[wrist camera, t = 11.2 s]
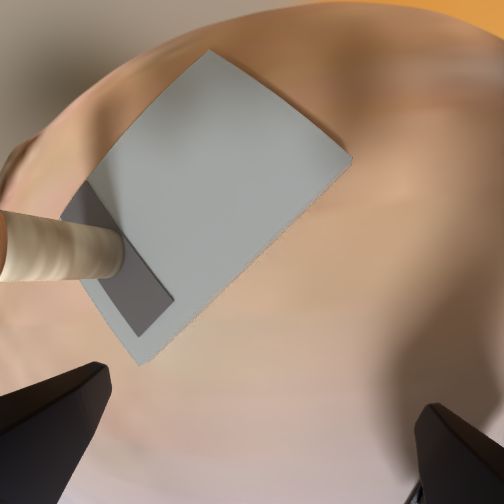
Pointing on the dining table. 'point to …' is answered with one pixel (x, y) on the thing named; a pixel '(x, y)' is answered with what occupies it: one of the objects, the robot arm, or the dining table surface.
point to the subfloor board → (207, 189)
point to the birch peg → (56, 249)
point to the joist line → (132, 272)
